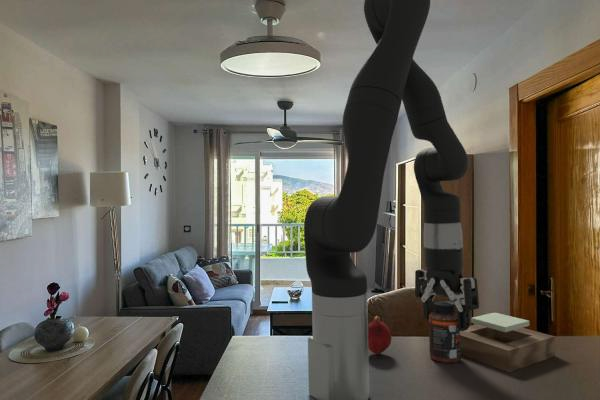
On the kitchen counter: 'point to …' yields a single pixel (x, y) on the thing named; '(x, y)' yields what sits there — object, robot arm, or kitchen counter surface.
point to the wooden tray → (506, 347)
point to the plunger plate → (500, 322)
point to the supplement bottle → (444, 333)
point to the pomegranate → (378, 336)
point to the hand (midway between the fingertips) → (445, 324)
